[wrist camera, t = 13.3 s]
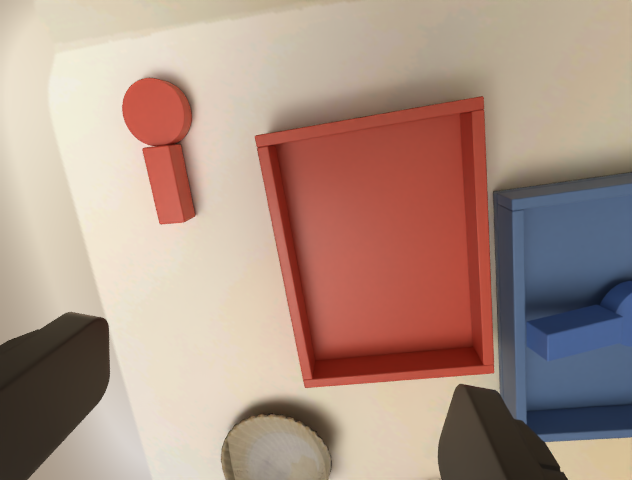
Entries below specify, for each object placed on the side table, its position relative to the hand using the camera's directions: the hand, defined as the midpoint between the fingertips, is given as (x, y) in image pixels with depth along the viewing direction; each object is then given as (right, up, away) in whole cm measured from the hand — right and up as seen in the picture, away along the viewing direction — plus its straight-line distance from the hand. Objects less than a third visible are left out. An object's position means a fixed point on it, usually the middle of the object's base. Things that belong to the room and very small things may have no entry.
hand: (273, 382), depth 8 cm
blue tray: (+18, -1, +14) cm, 22 cm away
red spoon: (-8, +8, +14) cm, 18 cm away
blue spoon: (+17, -1, +12) cm, 21 cm away
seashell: (-2, -12, +19) cm, 23 cm away
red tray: (+5, +3, +14) cm, 15 cm away
